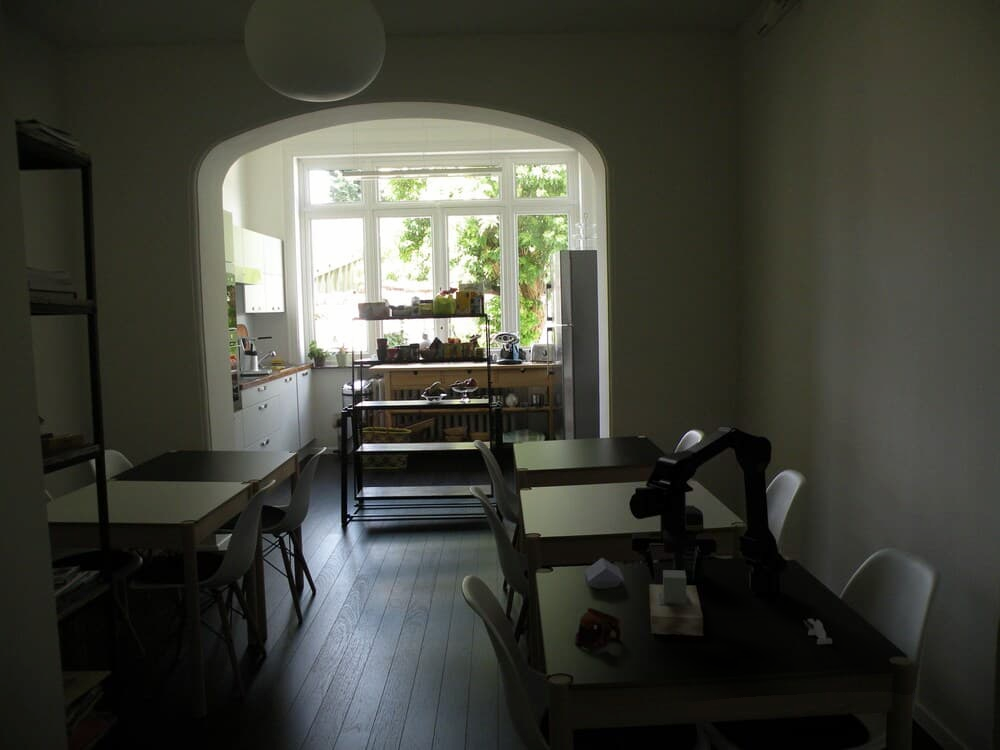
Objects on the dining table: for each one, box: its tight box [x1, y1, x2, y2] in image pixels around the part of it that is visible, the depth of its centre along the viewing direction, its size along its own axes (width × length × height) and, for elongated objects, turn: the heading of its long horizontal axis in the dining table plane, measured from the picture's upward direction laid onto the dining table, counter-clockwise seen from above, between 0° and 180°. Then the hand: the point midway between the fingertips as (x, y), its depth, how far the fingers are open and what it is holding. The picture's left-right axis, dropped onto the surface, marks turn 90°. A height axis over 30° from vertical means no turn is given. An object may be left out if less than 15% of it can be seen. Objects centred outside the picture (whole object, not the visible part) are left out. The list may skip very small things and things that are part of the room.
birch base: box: [648, 583, 704, 637], centre depth 183 cm, size 11×20×4 cm, turn 171°
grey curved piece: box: [802, 618, 833, 645], centre depth 173 cm, size 15×7×4 cm, turn 1°
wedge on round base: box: [584, 557, 625, 589], centre depth 206 cm, size 9×7×13 cm
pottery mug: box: [574, 607, 621, 651], centre depth 170 cm, size 12×10×8 cm
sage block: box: [662, 569, 687, 604], centre depth 183 cm, size 5×5×6 cm
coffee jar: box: [672, 505, 705, 583], centre depth 209 cm, size 10×8×19 cm
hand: (673, 578), depth 183 cm, fingers open, 9 cm apart
